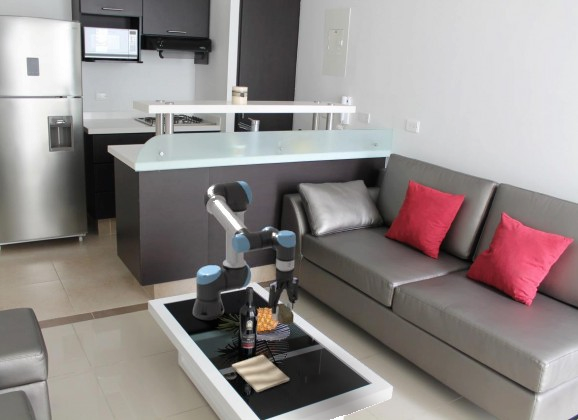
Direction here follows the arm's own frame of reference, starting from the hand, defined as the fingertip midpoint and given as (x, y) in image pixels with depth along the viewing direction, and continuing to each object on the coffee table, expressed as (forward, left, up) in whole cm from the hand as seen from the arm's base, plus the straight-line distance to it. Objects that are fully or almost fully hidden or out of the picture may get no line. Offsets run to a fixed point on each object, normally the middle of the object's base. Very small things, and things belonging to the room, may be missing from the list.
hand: (282, 317), depth 233 cm
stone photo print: (+9, -16, -17) cm, 25 cm away
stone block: (0, 0, -1) cm, 1 cm away
